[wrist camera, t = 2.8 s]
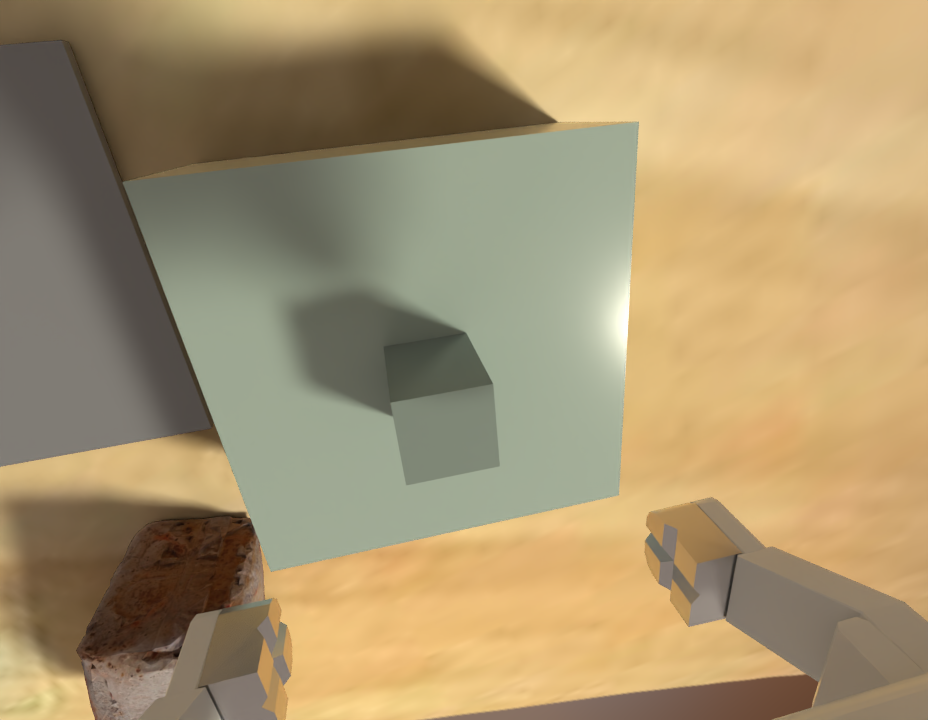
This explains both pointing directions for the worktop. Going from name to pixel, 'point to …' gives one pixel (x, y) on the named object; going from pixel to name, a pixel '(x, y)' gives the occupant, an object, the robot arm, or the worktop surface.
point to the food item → (164, 606)
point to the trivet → (77, 280)
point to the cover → (405, 327)
